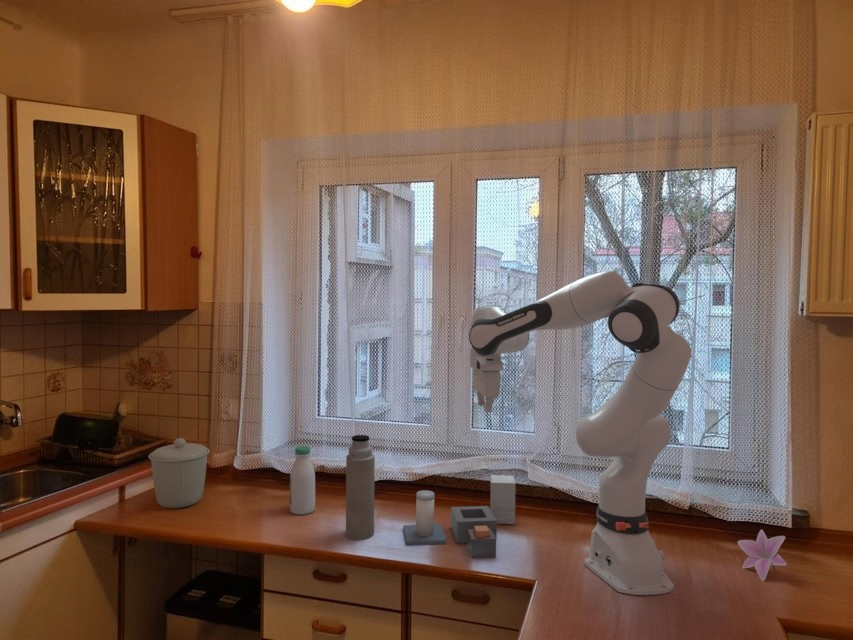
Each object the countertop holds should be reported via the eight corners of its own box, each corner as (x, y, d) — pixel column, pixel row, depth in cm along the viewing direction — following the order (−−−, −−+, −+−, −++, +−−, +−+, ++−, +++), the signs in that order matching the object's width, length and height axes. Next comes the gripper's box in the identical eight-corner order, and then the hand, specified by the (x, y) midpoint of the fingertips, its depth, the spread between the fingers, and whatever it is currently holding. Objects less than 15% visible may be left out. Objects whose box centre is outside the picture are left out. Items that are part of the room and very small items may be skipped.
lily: (735, 560, 149) (725, 532, 146) (782, 547, 147) (773, 519, 144) (756, 596, 138) (746, 567, 135) (807, 584, 135) (797, 554, 133)
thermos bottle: (361, 525, 166) (362, 431, 165) (379, 533, 161) (380, 436, 160) (340, 533, 160) (340, 436, 159) (358, 542, 155) (358, 441, 154)
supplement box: (513, 515, 176) (514, 475, 175) (515, 525, 168) (515, 483, 168) (489, 514, 176) (490, 474, 176) (490, 523, 169) (490, 481, 168)
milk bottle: (320, 509, 178) (320, 446, 178) (302, 517, 172) (302, 452, 171) (302, 504, 183) (302, 443, 182) (284, 512, 176) (284, 448, 175)
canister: (170, 491, 193) (170, 430, 192) (220, 495, 190) (220, 433, 190) (136, 511, 175) (135, 444, 174) (190, 515, 173) (190, 447, 172)
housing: (496, 541, 156) (496, 520, 156) (457, 543, 155) (457, 521, 155) (487, 525, 167) (488, 505, 167) (450, 527, 166) (451, 507, 166)
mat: (446, 543, 155) (446, 540, 155) (406, 545, 153) (406, 541, 153) (440, 527, 166) (440, 524, 166) (403, 528, 164) (403, 525, 164)
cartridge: (435, 535, 158) (436, 495, 157) (419, 537, 156) (420, 497, 156) (429, 527, 163) (430, 489, 162) (413, 529, 161) (414, 491, 160)
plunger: (489, 553, 148) (489, 530, 148) (476, 553, 148) (476, 531, 147) (486, 547, 151) (486, 525, 151) (473, 548, 151) (474, 525, 151)
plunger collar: (495, 557, 147) (496, 538, 147) (471, 558, 146) (471, 539, 146) (490, 546, 153) (490, 528, 153) (467, 547, 152) (467, 529, 152)
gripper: (468, 357, 175) (467, 402, 175) (481, 365, 154) (481, 415, 155) (488, 357, 175) (487, 402, 176) (504, 365, 155) (503, 415, 155)
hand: (484, 408), depth 165 cm, fingers open, 8 cm apart
